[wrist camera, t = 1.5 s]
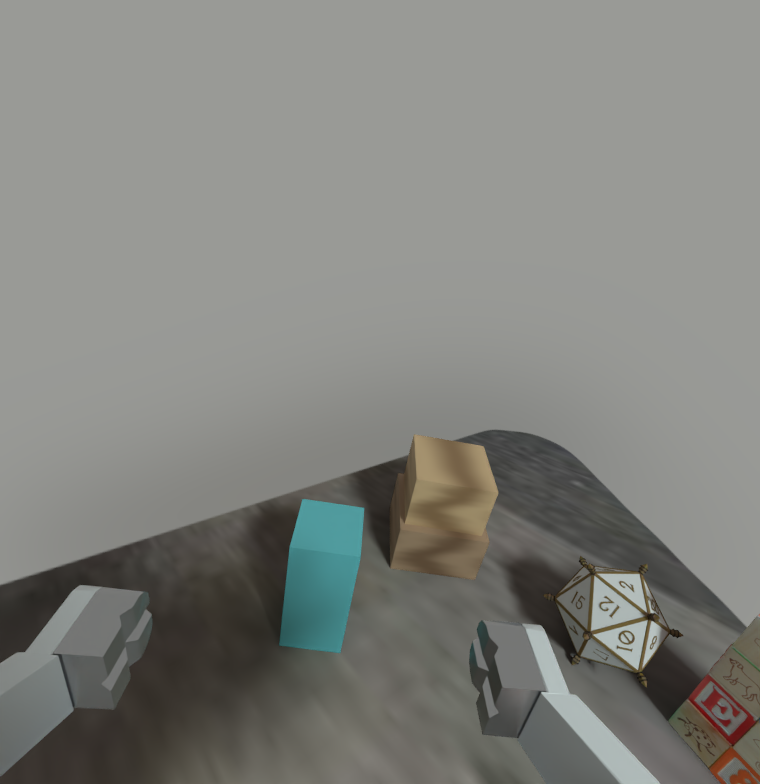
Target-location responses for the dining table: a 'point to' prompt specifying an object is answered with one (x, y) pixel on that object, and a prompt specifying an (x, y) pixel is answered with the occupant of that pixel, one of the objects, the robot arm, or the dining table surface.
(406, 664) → the dining table surface
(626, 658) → the game die
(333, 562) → the teal pillar
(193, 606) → the dining table surface
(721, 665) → the stack of blocks
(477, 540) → the walnut base block
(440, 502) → the oak top block
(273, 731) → the dining table surface
